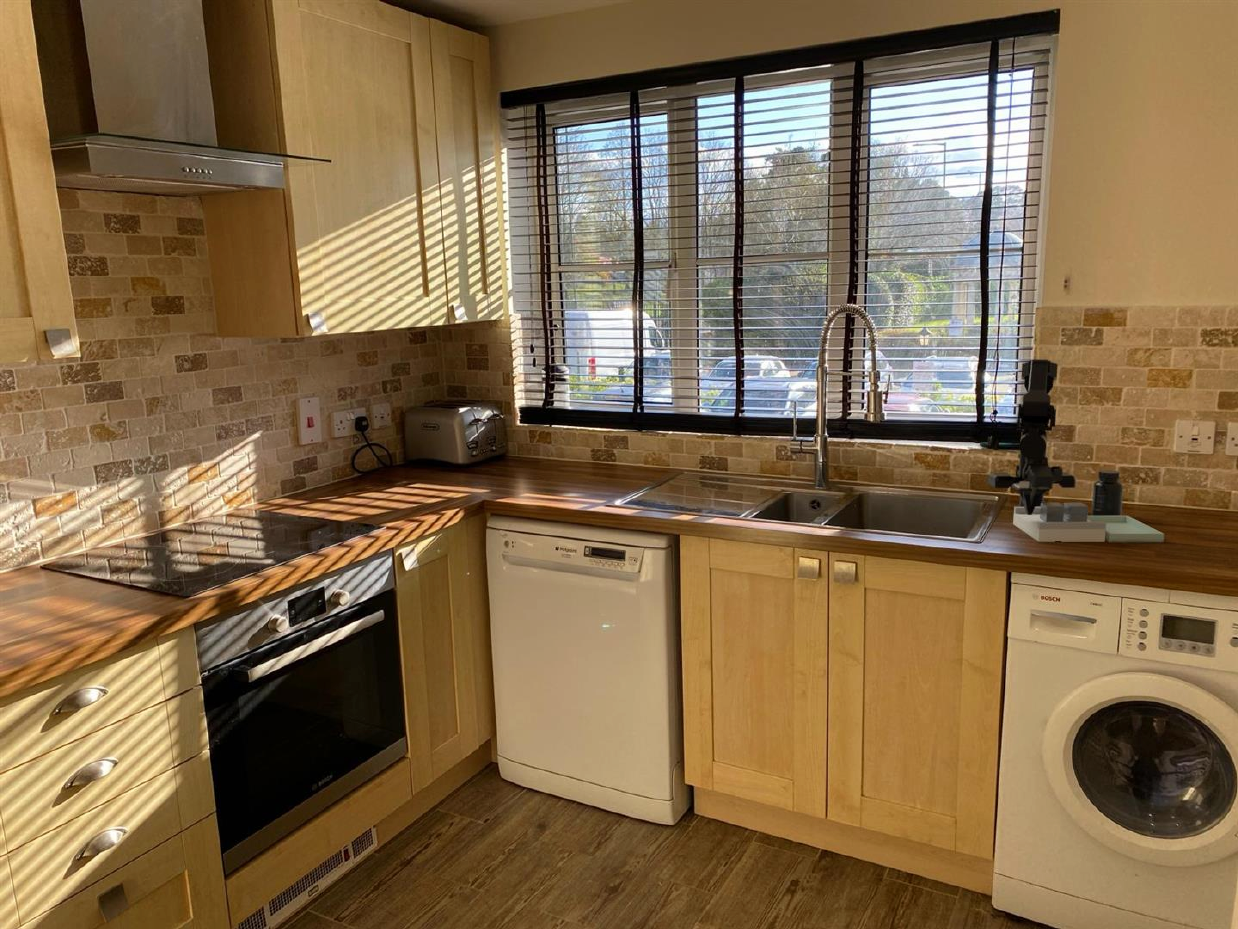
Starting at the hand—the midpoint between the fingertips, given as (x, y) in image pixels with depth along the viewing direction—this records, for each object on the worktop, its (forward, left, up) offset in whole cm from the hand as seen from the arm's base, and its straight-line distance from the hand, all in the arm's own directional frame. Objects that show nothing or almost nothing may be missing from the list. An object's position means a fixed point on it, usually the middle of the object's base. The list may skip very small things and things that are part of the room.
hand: (1029, 514), depth 222 cm
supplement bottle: (-16, +25, -5) cm, 30 cm away
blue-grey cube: (0, +5, -1) cm, 6 cm away
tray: (0, +21, -4) cm, 22 cm away
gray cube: (0, +11, -1) cm, 11 cm away
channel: (0, +7, -4) cm, 8 cm away
